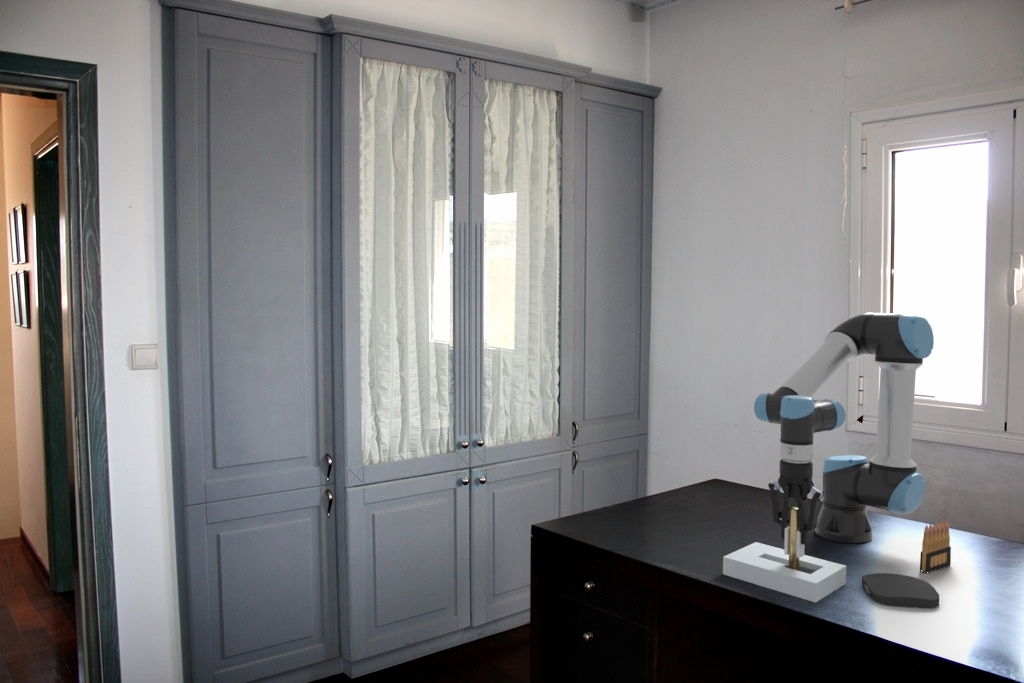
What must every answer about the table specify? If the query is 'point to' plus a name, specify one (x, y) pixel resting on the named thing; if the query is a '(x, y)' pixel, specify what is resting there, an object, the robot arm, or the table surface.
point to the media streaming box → (900, 590)
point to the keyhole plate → (785, 571)
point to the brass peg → (793, 538)
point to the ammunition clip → (935, 547)
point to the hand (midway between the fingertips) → (794, 554)
